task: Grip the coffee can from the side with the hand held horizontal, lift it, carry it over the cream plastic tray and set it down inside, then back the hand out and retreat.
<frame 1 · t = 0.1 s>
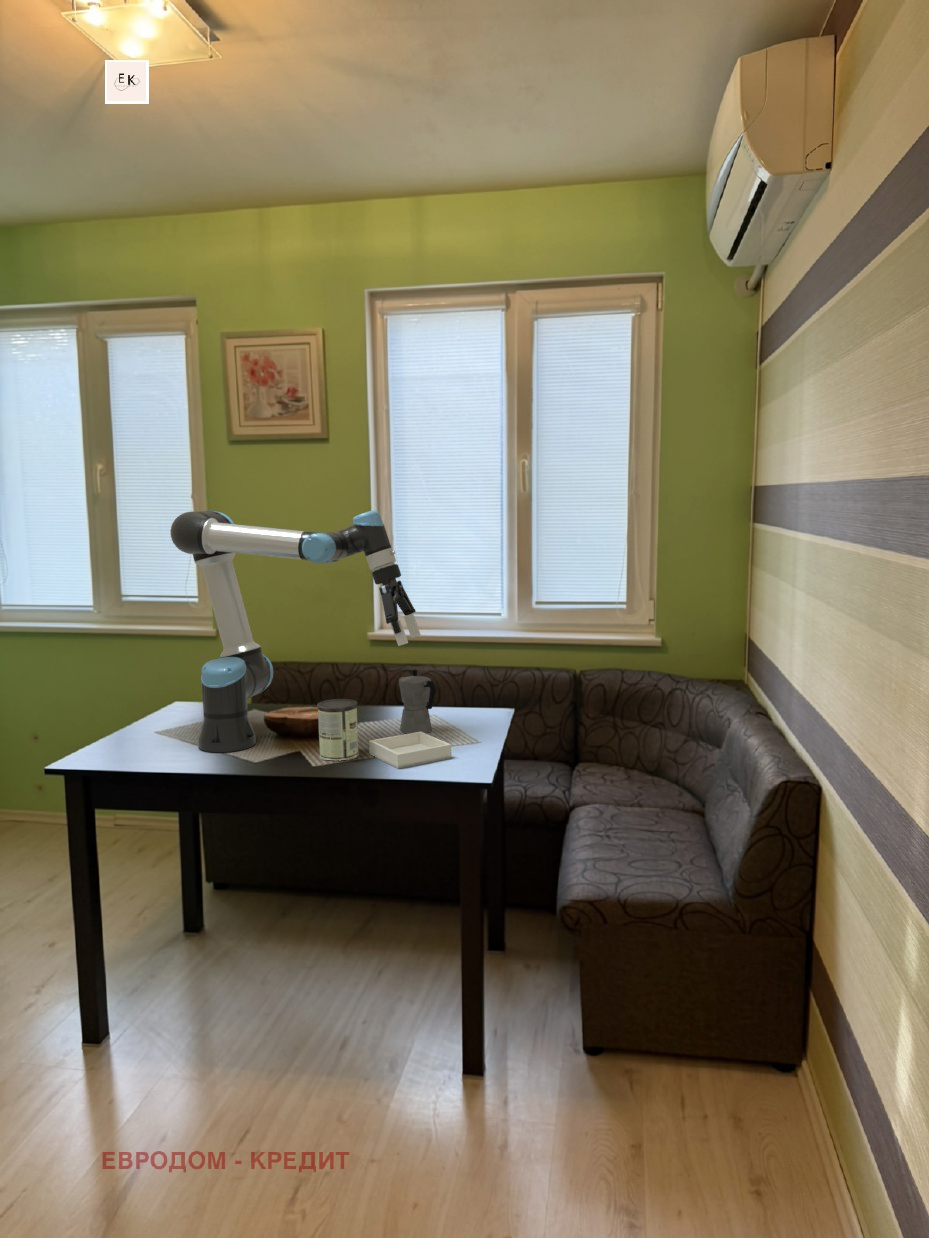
hand: (409, 640, 233), 28 cm above the table, tool tilted 20°, fingers open, 13 cm apart
tray: (410, 755, 221), on the table
coffeepot: (418, 732, 245), on the table
coffee can: (339, 756, 222), on the table
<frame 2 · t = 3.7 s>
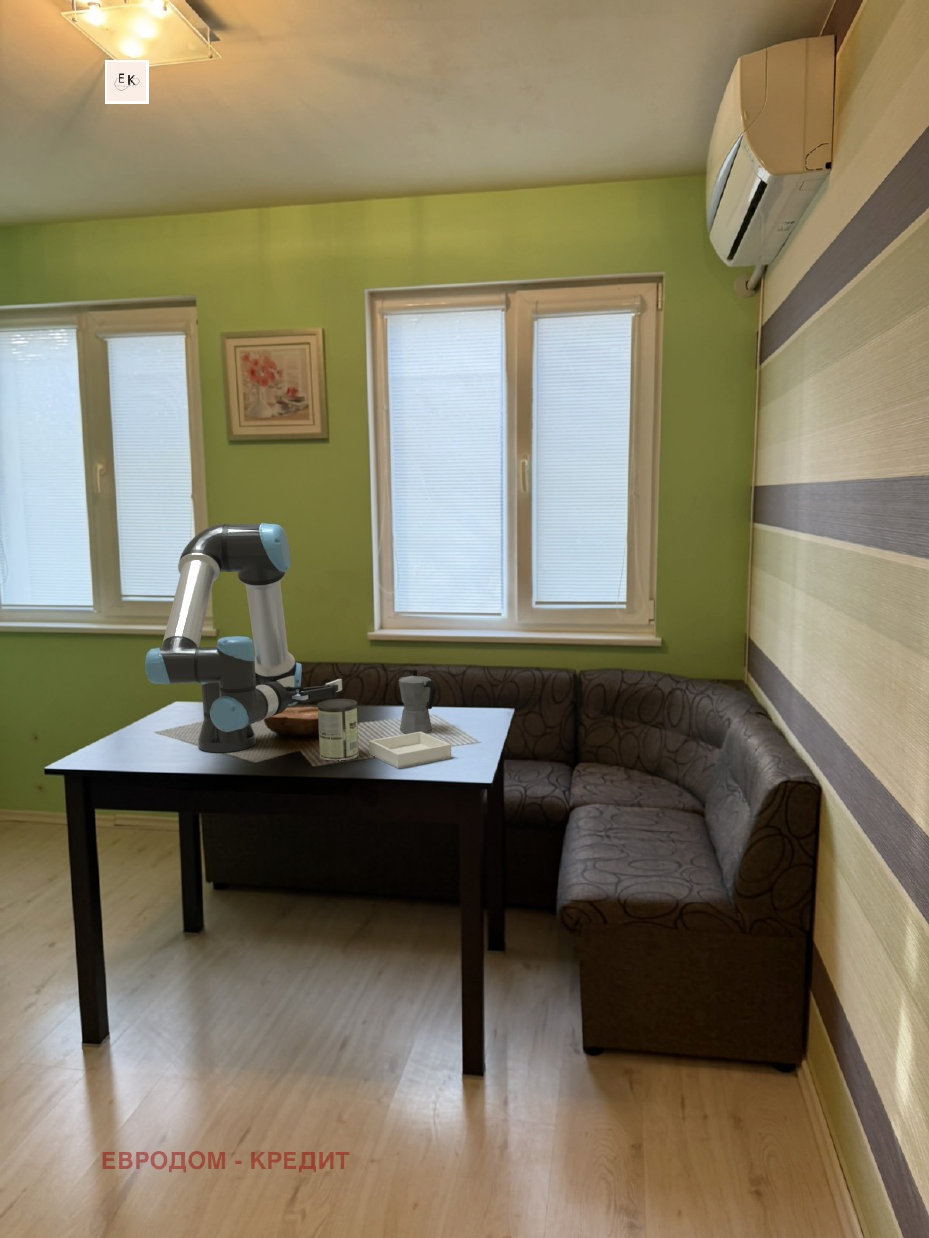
hand: (316, 682, 210), 21 cm above the table, tool horizontal, fingers open, 13 cm apart
nothing on the table moved.
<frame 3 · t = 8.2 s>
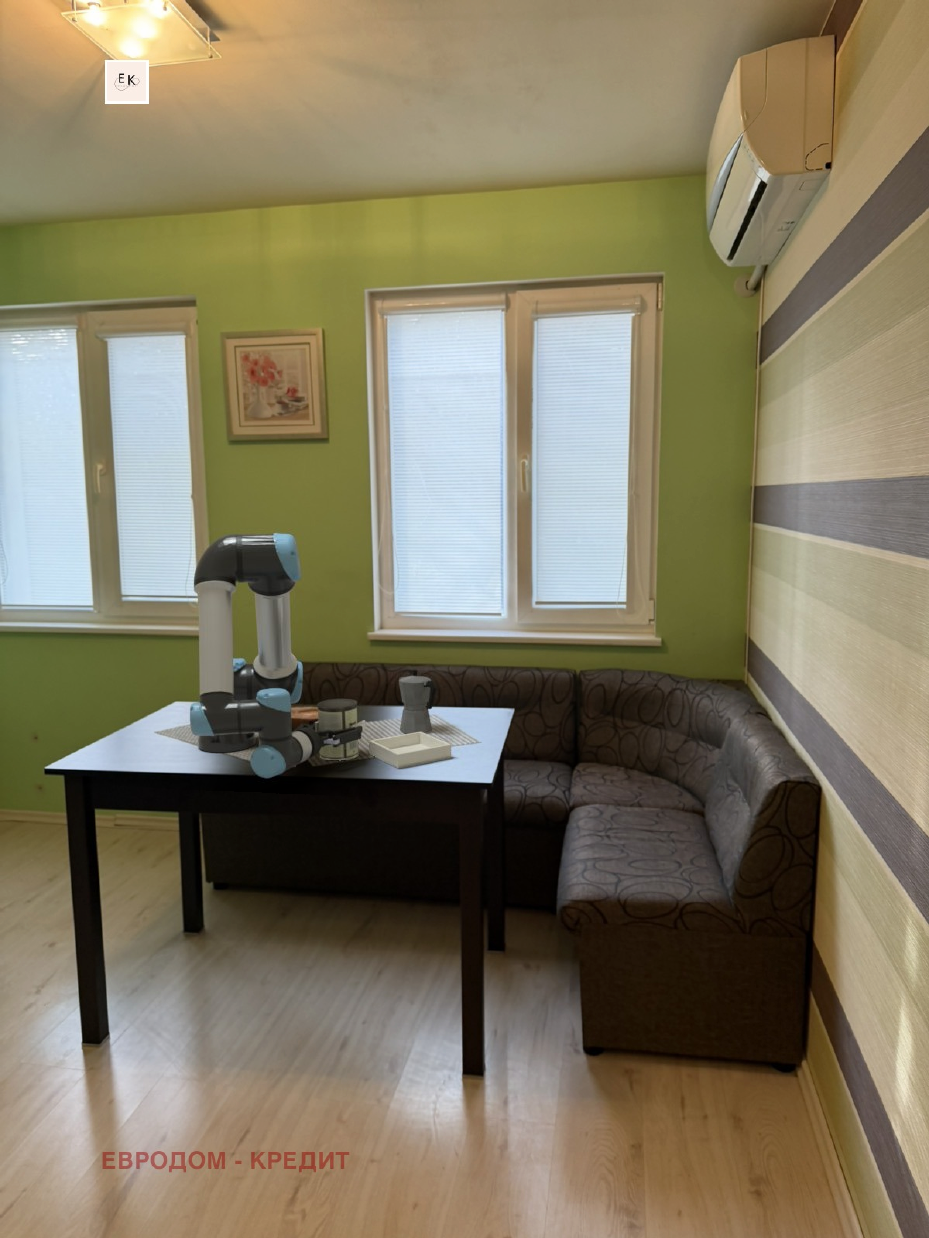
hand: (346, 723, 225), 8 cm above the table, tool horizontal, fingers closed on coffee can, 10 cm apart
coffee can: (339, 756, 222), on the table, touching gripper
everything else where it was.
when the fingers open (10 cm above the table, at t = 13.0 s): coffee can drops 1 cm, resting on tray.
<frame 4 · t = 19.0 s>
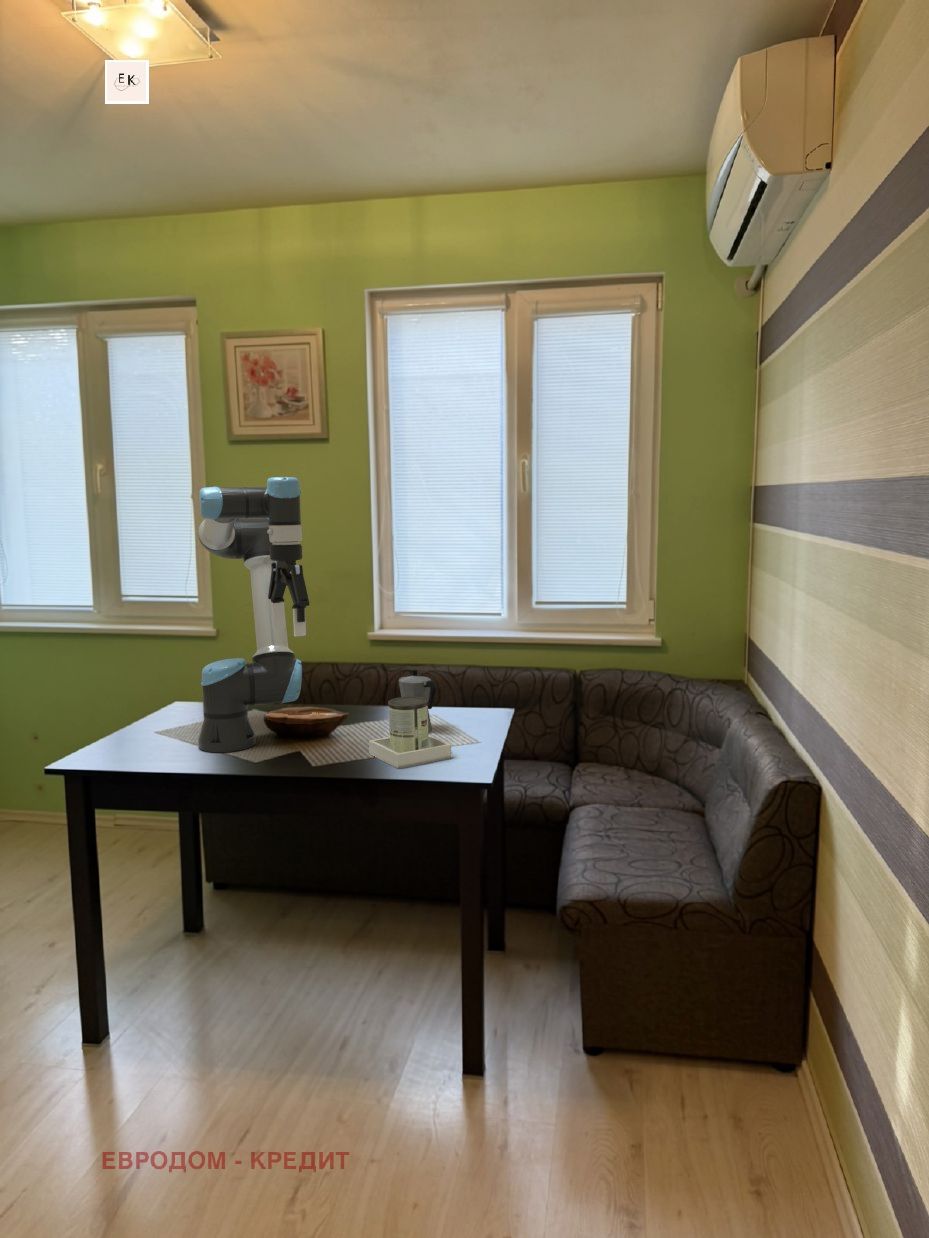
hand: (289, 632, 203), 35 cm above the table, tool pointing down, fingers open, 13 cm apart
coffee can: (409, 754, 220), resting on tray
everything else where it was.
at the end: coffee can 0.2 cm from the tray (horizontally); coffee can tilted 0°; the gripper is holding nothing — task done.
